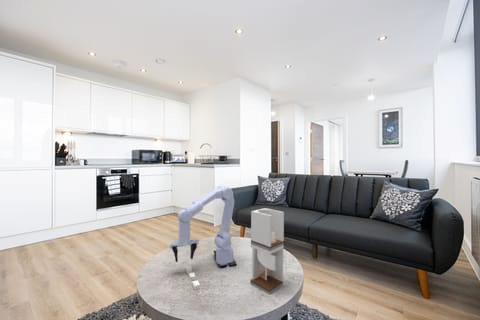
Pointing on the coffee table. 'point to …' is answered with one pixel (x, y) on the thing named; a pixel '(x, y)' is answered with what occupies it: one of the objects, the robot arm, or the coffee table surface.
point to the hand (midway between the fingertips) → (184, 259)
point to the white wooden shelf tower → (267, 249)
